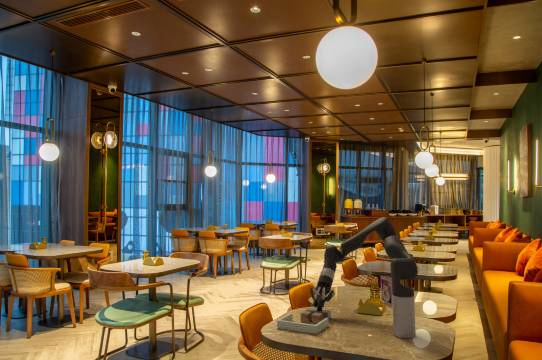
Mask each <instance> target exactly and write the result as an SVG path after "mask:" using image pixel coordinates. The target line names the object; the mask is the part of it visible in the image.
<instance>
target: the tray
mask: <svg viewBox="0 0 542 360" xmlns="http://www.w3.org/2000/svg"><path fill="white" fill-rule="evenodd" d="M293 317H294V316H293V312H291V313H288V314H286V315H285V316H283V317H281V318H279V319H277V320H276V328H277V329H282V330H287V331H288V330H289V331H293V332H294V331H295V332H301V333H309V334H314V335H317V334H319V333H320V332H321V331H323V330H324V329H326V328H327V327H328V326H329V318H323V320H322V321H321V322H319V323H315V324H309V323H304V322H296V321H293Z"/></svg>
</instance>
